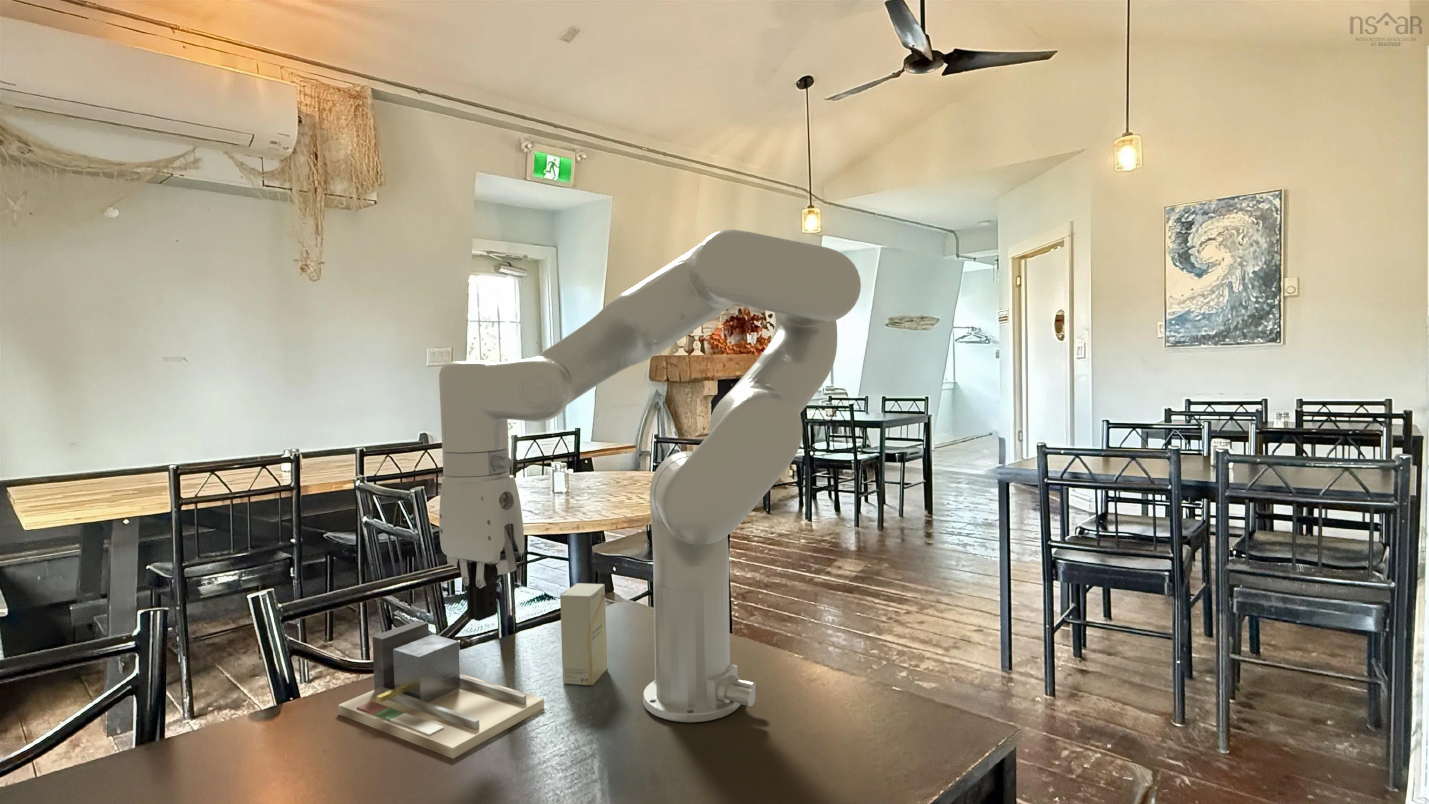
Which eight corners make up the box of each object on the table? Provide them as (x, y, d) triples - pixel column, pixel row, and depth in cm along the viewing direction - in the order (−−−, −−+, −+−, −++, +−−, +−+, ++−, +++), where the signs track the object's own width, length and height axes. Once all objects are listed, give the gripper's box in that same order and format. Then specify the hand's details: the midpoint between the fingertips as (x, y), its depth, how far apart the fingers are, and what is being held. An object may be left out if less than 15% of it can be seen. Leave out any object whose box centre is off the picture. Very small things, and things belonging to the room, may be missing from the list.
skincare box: (592, 687, 102) (590, 596, 101) (561, 684, 103) (558, 595, 102) (608, 668, 108) (606, 583, 107) (578, 666, 109) (576, 581, 108)
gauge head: (460, 686, 99) (458, 641, 99) (392, 718, 91) (390, 668, 91) (434, 678, 102) (432, 634, 102) (366, 708, 94) (364, 660, 93)
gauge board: (544, 708, 96) (542, 643, 95) (453, 758, 84) (450, 685, 83) (433, 673, 107) (430, 615, 106) (338, 714, 95) (335, 649, 94)
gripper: (545, 464, 90) (551, 617, 91) (459, 457, 98) (465, 598, 99) (496, 473, 84) (503, 637, 85) (408, 465, 92) (415, 616, 93)
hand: (482, 616), depth 92 cm, fingers closed
